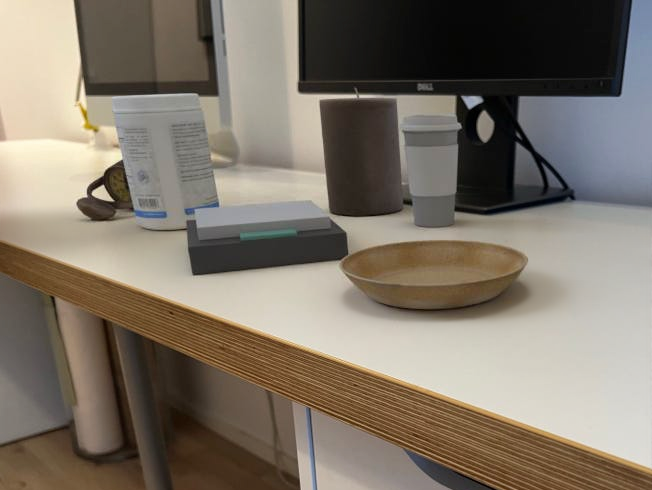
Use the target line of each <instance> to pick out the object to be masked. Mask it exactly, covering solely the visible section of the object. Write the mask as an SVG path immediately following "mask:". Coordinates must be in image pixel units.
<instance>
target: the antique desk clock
mask: <svg viewBox="0 0 652 490" xmlns="http://www.w3.org/2000/svg"><path fill="white" fill-rule="evenodd" d="M102 186H103V187H104V189H105V191H106V192H107V194H108V196H109V197H110V198H111V199H112V200H107V199H101V198H98V197H96V196H94V195H93V192H94V191H96V190H98V189H99V188H100V187H102ZM75 205H76V207H77V209H78V210H79V211H80V212H81V213H82V214H83V215H84V216H86V217H87V218H89V219H92V220H108V219H110V218H114V216H115V215H116V214H117V210H131V211H134V207H133V203H132V198H131V193H130V189H129V185H128V180H127V175H126V171H125V167H124V162H123V158H122V159H120V160H119V161H117V162H115V163H114V164H112V165H110V166H109V167H108V168H106V169H105V171H104V172H103V175H102V176H100V177H99V178H97V179H95V180H94V181H92V182H90V183H89V184H88V186H87V187H86V197H81V198H79V199H77V201H76V202H75Z"/></svg>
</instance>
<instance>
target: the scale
mask: <svg viewBox="0 0 652 490" xmlns="http://www.w3.org/2000/svg"><path fill="white" fill-rule="evenodd" d="M194 210H195V217H196V220H187V221H186V226H187V229H186V241H187V251H188V257H189V262H190V268H191V273H192V275H193V276H196V275H204V274H216V273H224V272H233V271H243V270H244V271H245V270H253V269H263V268H272V267H280V266H291V265H299V264H300V265H301V264H308V263H318V262H328V261H338V260H342V259H343V258H344V257H346V256H347V255H349V254H350V253H349V244H348V243H349V242H348V232H346V231H345V230H344V229H343V228H342V227H341V226H339V224H338V223H336V222H335V221H334V220H333V219H332V218H331V217H330V215H329V214H328V213H326V212H325V211H324V210H323V209H322V208H321V207H319V205H317V204H316V203H315V202H313V201H312V199H307V200H294V201H281V202H280V201H279V202H269V203H267V202H266V203H255V204H241V205H228V206H219V207H213V208H200V209H194Z"/></svg>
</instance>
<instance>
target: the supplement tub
mask: <svg viewBox="0 0 652 490" xmlns="http://www.w3.org/2000/svg"><path fill="white" fill-rule="evenodd" d="M110 100H111V105H112V109H111V110H112V113H113V121H114V126H115V130H116V135H117V138H118V144H119V148H120V153H121V157H122V159H123V162H124V167H125V171H126V175H127V180H128V185H129V189H130V193H131V198H132V203H133V207H134V210H133V211H134V216H135V220H136V223H137V225H139V226H140V227H141V228H143V229H148V230H154V231H175V230H176V231H177V230H187V226H186V221H187V220H196V217H195V210H194V209H200V208H213V207H220V201H219V196H218V191H217V184H216V177H215V173H214V166H213V161H212V155H211V149H210V144H209V138H208V132H207V127H206V121H205V116H204V111H203V107H202V105H201V101H200V96H199V94H198V93H163V94H159V93H158V94H137V95H135V94H134V95H118V96H111V98H110Z"/></svg>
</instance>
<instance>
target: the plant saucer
mask: <svg viewBox="0 0 652 490" xmlns="http://www.w3.org/2000/svg"><path fill="white" fill-rule="evenodd" d="M348 254H349V255H347V256H346V257H344V258H343V259H340V261H339V262H338V263H339V265H338V266H339V269H340V271H342V272H343V274H344V275H345V277H346V278H347V279H348V280H349V281H350V282H351V283H352V284H353V285H355V286H356V287H357V288H358V290H360V291H361V292H362V293H364V294H365V295H366V296H367V297H369V298H370V299H372V300H374V301H376V302H378V303H381V304H384V305H388V306H393V307H395V308H401V309H402V308H403V309H410V310H411V309H412V310H446V309H447V310H449V309H455V308H463V307H469V306H474V305H478V304H481V302H482V303H485V302H488V301H489V300H492V299H494V298H496V297H497V296H499V295H500V294H502V293H503V292H504V291H505V290H506V289H507V288H508V287H509V286H511V284H513V283H514V281H515V280H517V278H518V277H519V276H520V275H521V274H522V272H523V271H524V269H525V268H526V266H527V265H528V263H529V258H528V256H527V255H526V254H525V253H524V252H523V251H521V250H518V249H515V248H513V247H510V246H505V245H501V244H498V243H490V242H482V241H476V240H459V239H429V240H427V239H426V240H425V239H424V240H410V241H399V242H391V243H385V244H381V245H379V244H378V245H374V246H370V247H366V248H362V249H359V250H356V251H354V252H352V253H348ZM484 301H485V302H484ZM473 304H474V305H473ZM468 305H469V306H468Z"/></svg>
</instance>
